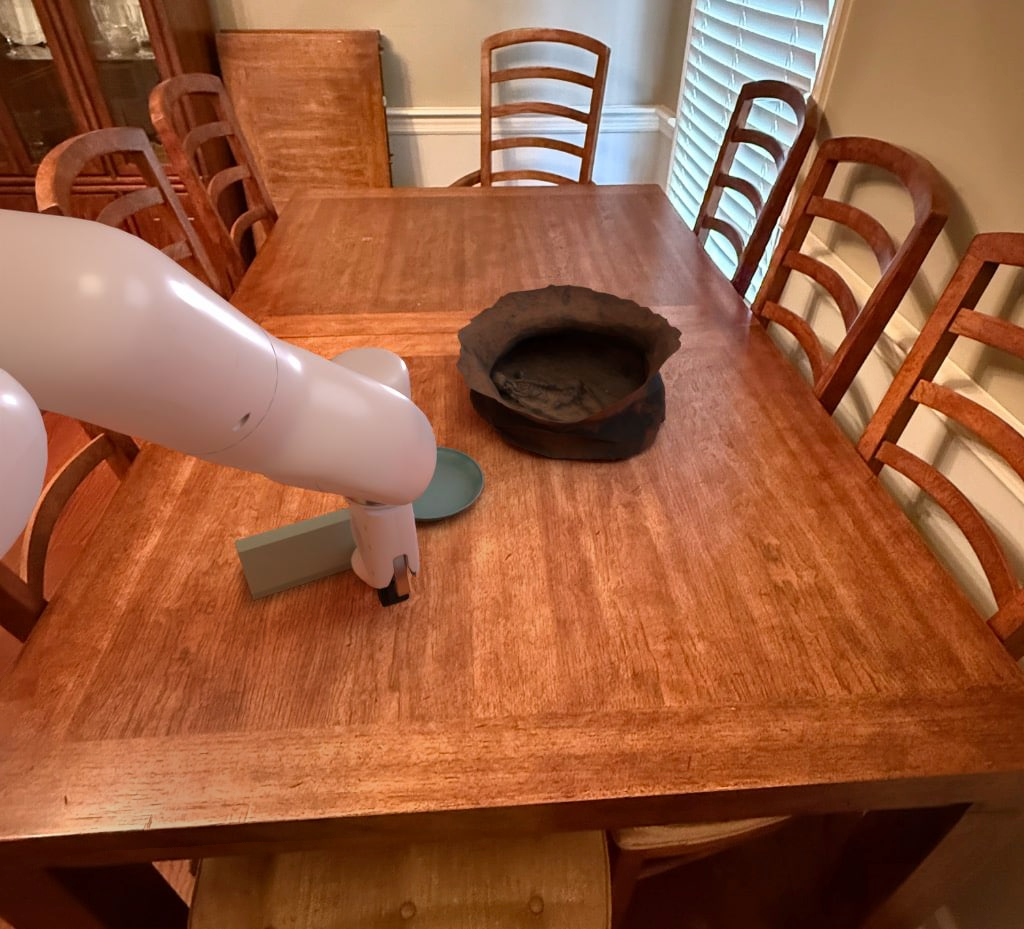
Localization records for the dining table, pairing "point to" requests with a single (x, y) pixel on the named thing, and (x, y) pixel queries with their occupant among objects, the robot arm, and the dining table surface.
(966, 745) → the dining table surface
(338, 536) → the wall
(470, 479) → the saucer
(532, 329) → the bowl
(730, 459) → the dining table surface
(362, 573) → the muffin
